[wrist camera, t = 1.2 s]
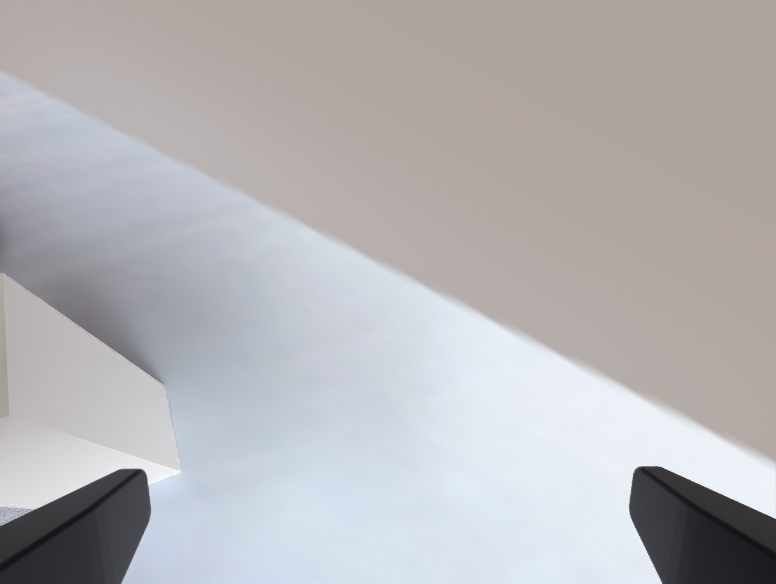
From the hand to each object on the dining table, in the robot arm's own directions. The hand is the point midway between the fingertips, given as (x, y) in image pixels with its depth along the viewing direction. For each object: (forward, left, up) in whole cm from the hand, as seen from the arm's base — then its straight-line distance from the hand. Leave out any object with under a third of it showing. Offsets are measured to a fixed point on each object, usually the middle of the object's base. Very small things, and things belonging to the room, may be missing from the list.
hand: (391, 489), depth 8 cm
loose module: (+1, +13, -14) cm, 19 cm away
